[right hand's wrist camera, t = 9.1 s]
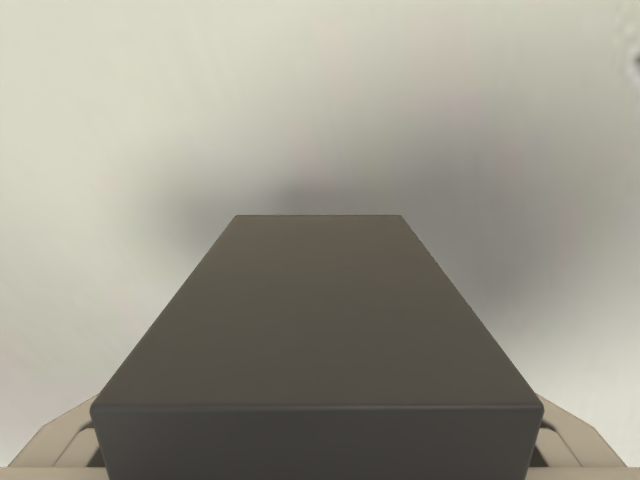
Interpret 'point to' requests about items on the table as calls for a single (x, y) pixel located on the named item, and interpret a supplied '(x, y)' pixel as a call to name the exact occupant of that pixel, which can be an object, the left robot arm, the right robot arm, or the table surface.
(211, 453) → the box
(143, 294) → the table surface
